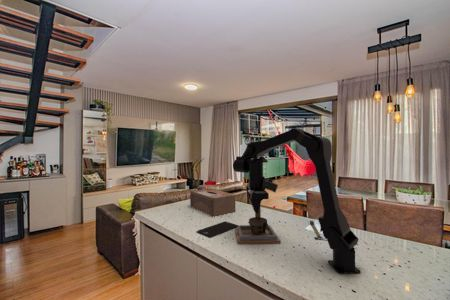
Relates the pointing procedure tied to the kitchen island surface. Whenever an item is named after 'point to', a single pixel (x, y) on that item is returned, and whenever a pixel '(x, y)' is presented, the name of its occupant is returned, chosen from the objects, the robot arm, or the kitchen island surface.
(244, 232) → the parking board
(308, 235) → the kitchen island surface
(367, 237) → the kitchen island surface
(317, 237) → the claw hammer
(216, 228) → the cell phone
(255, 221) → the industrial component
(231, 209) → the tissue box cover
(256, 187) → the robot arm
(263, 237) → the locating frame
